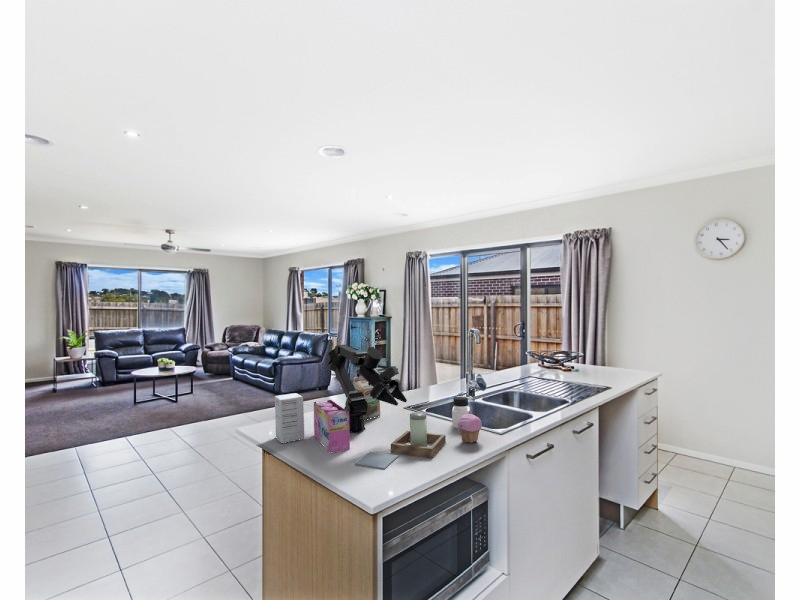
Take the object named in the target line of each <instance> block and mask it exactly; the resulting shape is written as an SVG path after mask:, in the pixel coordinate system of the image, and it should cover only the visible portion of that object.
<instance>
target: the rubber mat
mask: <svg viewBox="0 0 800 600" xmlns="http://www.w3.org/2000/svg"><path fill="white" fill-rule="evenodd" d="M399 457H400V454H399V455H398V454H390V453H383V452H377V451H376V452H375V451H368V452H367V453H366V454H365V455H364V456H362V457H361V458H360V459H358V460H357V461H356V462H354V463H353V464H354V466H358V467H366V468H373V469H380V470H386V469H387V468H389V466H390V465H392V464H393V463H394V462H395V461H396V460H398V458H399Z"/></svg>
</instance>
